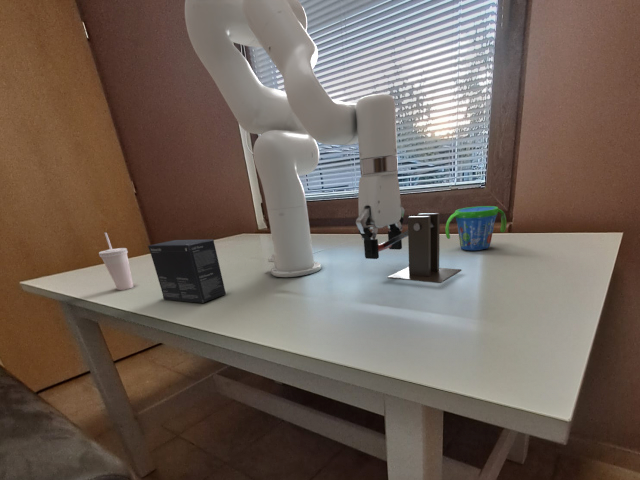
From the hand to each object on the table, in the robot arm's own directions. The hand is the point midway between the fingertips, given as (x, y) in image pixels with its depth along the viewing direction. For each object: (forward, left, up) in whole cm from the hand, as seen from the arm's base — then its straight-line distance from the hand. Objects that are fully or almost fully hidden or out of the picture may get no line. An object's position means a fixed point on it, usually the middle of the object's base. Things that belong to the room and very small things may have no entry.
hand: (384, 253), depth 83 cm
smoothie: (-59, -32, -5) cm, 68 cm away
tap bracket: (+10, 0, -5) cm, 11 cm away
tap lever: (+6, 0, +3) cm, 6 cm away
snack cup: (+9, +31, -5) cm, 33 cm away
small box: (-31, -29, -5) cm, 43 cm away
